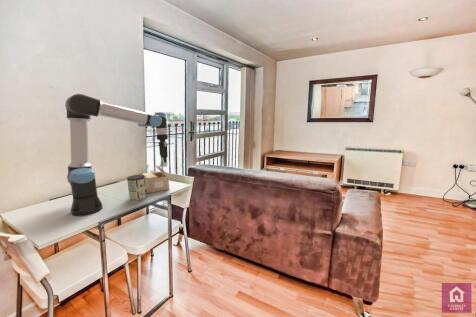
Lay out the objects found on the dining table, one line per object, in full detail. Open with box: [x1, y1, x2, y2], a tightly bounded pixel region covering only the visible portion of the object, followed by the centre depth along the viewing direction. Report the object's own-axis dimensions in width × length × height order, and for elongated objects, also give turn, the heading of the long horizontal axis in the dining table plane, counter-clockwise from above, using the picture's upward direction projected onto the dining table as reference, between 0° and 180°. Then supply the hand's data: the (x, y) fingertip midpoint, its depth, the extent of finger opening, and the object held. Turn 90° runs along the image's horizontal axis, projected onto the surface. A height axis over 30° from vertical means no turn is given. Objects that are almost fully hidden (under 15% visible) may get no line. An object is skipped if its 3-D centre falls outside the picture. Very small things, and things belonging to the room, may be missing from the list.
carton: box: [141, 171, 170, 194], centre depth 173 cm, size 14×18×11 cm
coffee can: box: [126, 174, 147, 201], centre depth 154 cm, size 10×10×14 cm
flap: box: [154, 160, 169, 177], centre depth 175 cm, size 8×17×7 cm
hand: (164, 166), depth 176 cm, fingers closed on flap, 4 cm apart
